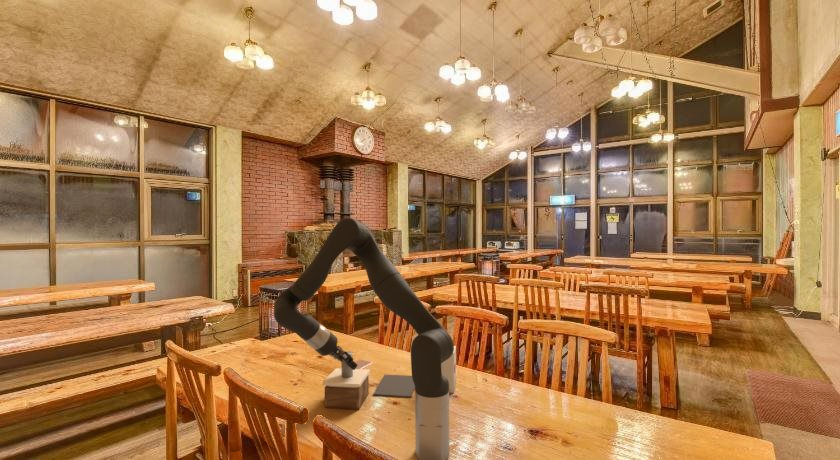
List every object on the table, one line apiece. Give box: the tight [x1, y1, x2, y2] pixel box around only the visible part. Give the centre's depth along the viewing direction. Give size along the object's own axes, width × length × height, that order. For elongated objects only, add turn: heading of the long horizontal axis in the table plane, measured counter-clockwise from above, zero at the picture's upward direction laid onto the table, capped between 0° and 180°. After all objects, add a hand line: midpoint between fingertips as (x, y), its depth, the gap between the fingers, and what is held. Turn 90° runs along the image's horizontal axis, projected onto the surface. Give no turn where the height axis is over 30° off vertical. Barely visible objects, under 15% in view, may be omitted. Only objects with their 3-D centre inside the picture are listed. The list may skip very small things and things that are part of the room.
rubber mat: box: [372, 374, 415, 399], centre depth 146 cm, size 18×14×1 cm
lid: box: [322, 350, 371, 388], centre depth 134 cm, size 13×13×10 cm
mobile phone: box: [354, 359, 373, 369], centre depth 166 cm, size 8×1×15 cm
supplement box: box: [441, 345, 457, 394], centre depth 144 cm, size 9×9×15 cm
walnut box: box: [324, 375, 370, 411], centre depth 134 cm, size 12×12×7 cm
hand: (351, 365), depth 135 cm, fingers closed on lid, 4 cm apart
